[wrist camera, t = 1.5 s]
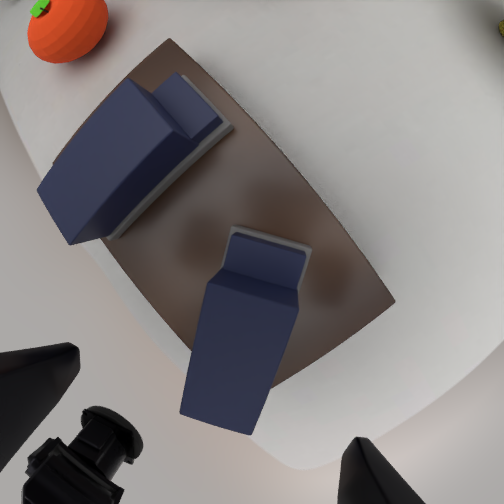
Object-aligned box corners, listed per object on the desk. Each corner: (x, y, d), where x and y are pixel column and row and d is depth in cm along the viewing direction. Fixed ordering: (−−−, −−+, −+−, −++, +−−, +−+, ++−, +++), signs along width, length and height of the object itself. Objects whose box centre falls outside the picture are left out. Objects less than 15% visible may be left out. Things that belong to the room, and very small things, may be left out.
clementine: (45, 58, 19) (-3, 36, 12) (89, 1, 17) (48, -31, 10) (86, 84, 19) (28, 58, 12) (138, 18, 17) (94, -25, 10)
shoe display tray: (377, 282, 19) (396, 302, 15) (251, 372, 21) (243, 404, 17) (189, 62, 18) (169, 37, 14) (85, 166, 20) (51, 163, 16)
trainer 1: (118, 239, 16) (69, 252, 12) (83, 189, 16) (32, 190, 12) (235, 128, 14) (213, 101, 10) (189, 80, 14) (156, 45, 10)
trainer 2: (262, 389, 17) (254, 440, 12) (198, 370, 17) (174, 415, 13) (311, 245, 15) (320, 264, 11) (234, 224, 15) (213, 233, 11)
